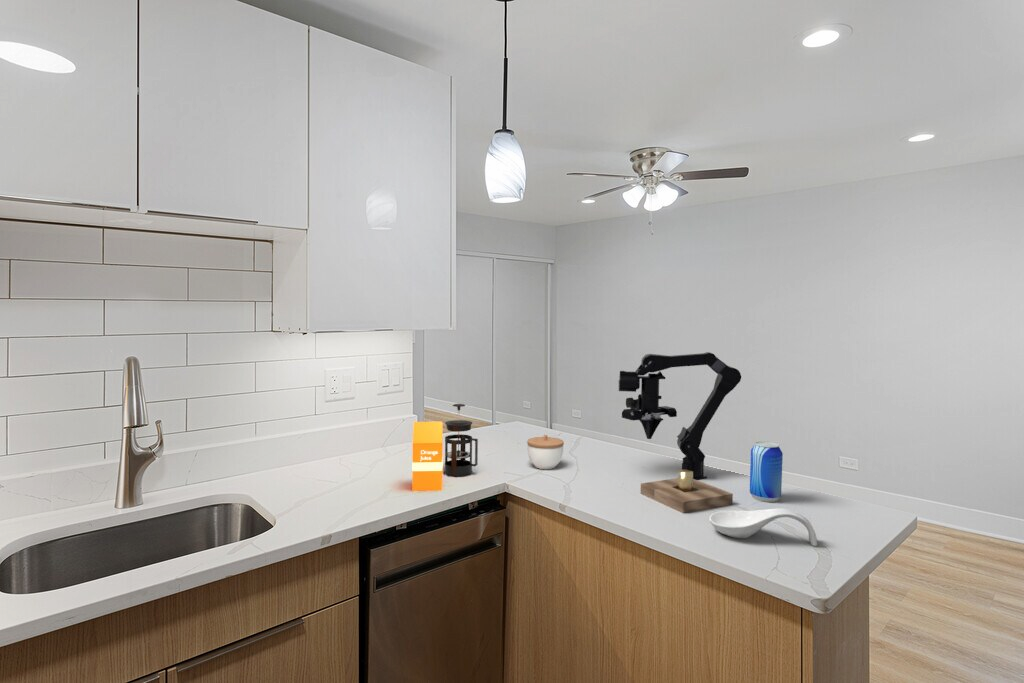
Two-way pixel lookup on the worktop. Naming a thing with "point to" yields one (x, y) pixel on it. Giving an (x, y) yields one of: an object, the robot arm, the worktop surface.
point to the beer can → (766, 471)
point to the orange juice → (427, 456)
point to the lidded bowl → (545, 451)
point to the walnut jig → (686, 495)
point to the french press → (458, 466)
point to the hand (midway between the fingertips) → (649, 438)
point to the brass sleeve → (685, 480)
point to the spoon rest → (754, 522)
